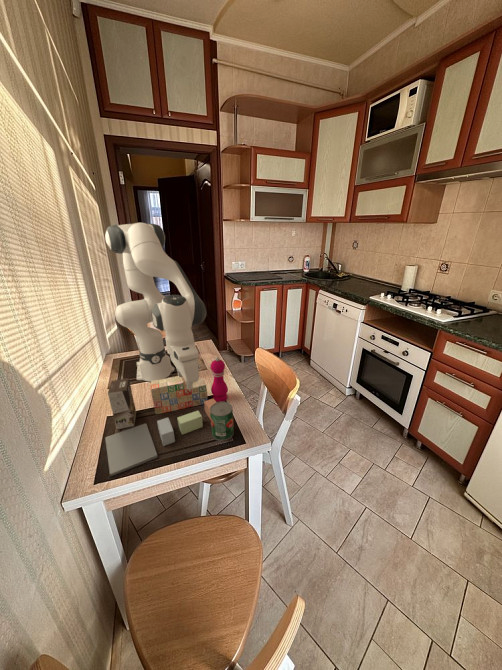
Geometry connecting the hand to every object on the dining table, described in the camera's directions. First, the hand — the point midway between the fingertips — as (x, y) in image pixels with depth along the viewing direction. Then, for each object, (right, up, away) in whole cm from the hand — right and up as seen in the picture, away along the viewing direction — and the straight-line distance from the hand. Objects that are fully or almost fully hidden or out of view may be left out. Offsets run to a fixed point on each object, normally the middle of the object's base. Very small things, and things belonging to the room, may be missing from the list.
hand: (185, 382), depth 94 cm
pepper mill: (+9, -11, +24) cm, 29 cm away
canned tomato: (+13, -19, +5) cm, 24 cm away
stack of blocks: (-7, -13, +21) cm, 26 cm away
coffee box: (-26, -17, +12) cm, 33 cm away
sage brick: (0, -18, +8) cm, 20 cm away
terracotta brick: (+8, -16, +14) cm, 22 cm away
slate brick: (-7, -20, +3) cm, 22 cm away
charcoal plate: (-18, -22, -1) cm, 29 cm away
